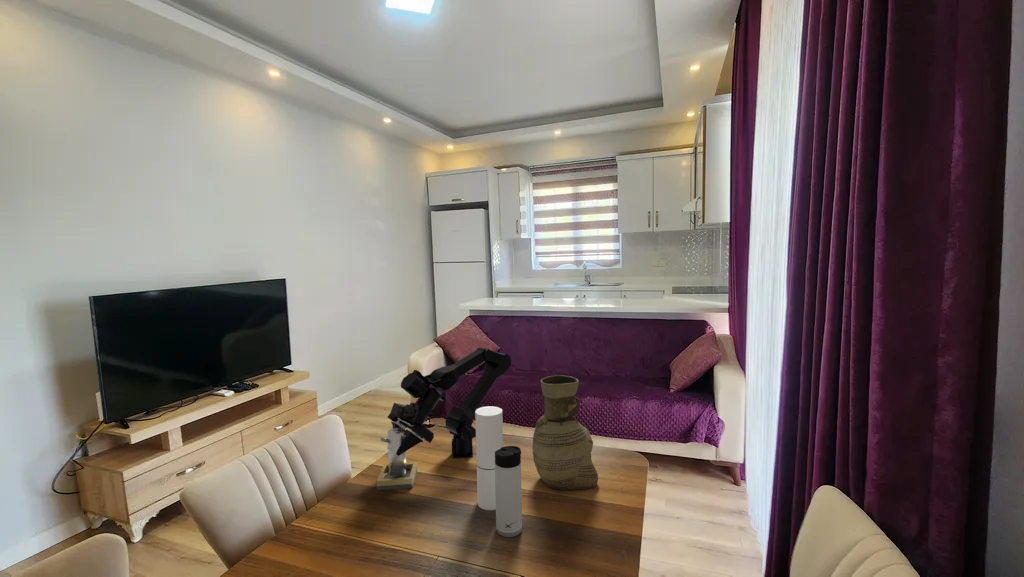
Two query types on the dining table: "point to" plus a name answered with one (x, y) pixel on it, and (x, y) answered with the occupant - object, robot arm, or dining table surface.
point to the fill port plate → (397, 478)
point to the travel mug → (508, 491)
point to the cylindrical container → (487, 453)
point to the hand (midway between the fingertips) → (392, 452)
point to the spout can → (396, 462)
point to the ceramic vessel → (563, 438)
